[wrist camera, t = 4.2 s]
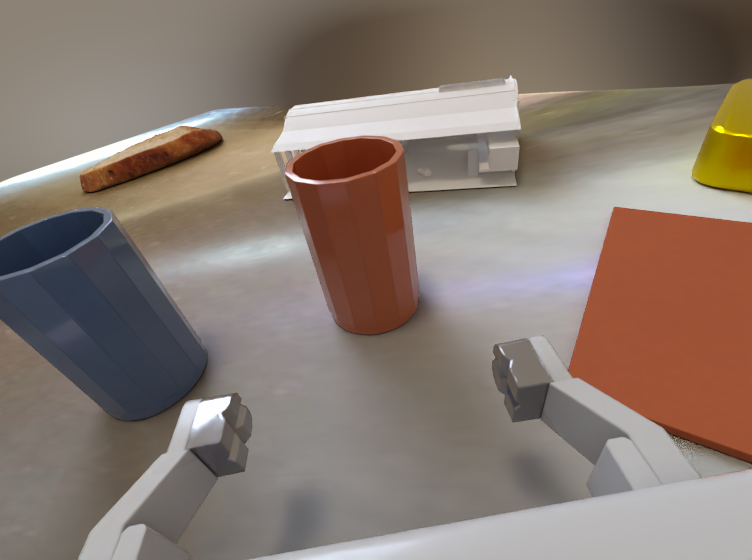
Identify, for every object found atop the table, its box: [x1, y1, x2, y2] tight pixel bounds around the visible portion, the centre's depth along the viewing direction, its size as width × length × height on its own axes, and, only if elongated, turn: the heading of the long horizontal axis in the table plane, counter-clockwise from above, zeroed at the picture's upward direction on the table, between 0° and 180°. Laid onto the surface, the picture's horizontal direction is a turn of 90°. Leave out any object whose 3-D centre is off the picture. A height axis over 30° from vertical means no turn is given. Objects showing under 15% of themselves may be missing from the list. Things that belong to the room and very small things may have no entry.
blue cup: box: [0, 207, 207, 421], centre depth 19 cm, size 6×6×10 cm
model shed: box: [272, 76, 521, 199], centre depth 40 cm, size 25×15×7 cm, turn 79°
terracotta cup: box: [285, 135, 419, 335], centre depth 21 cm, size 6×6×10 cm
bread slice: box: [80, 126, 222, 192], centre depth 57 cm, size 18×18×4 cm
